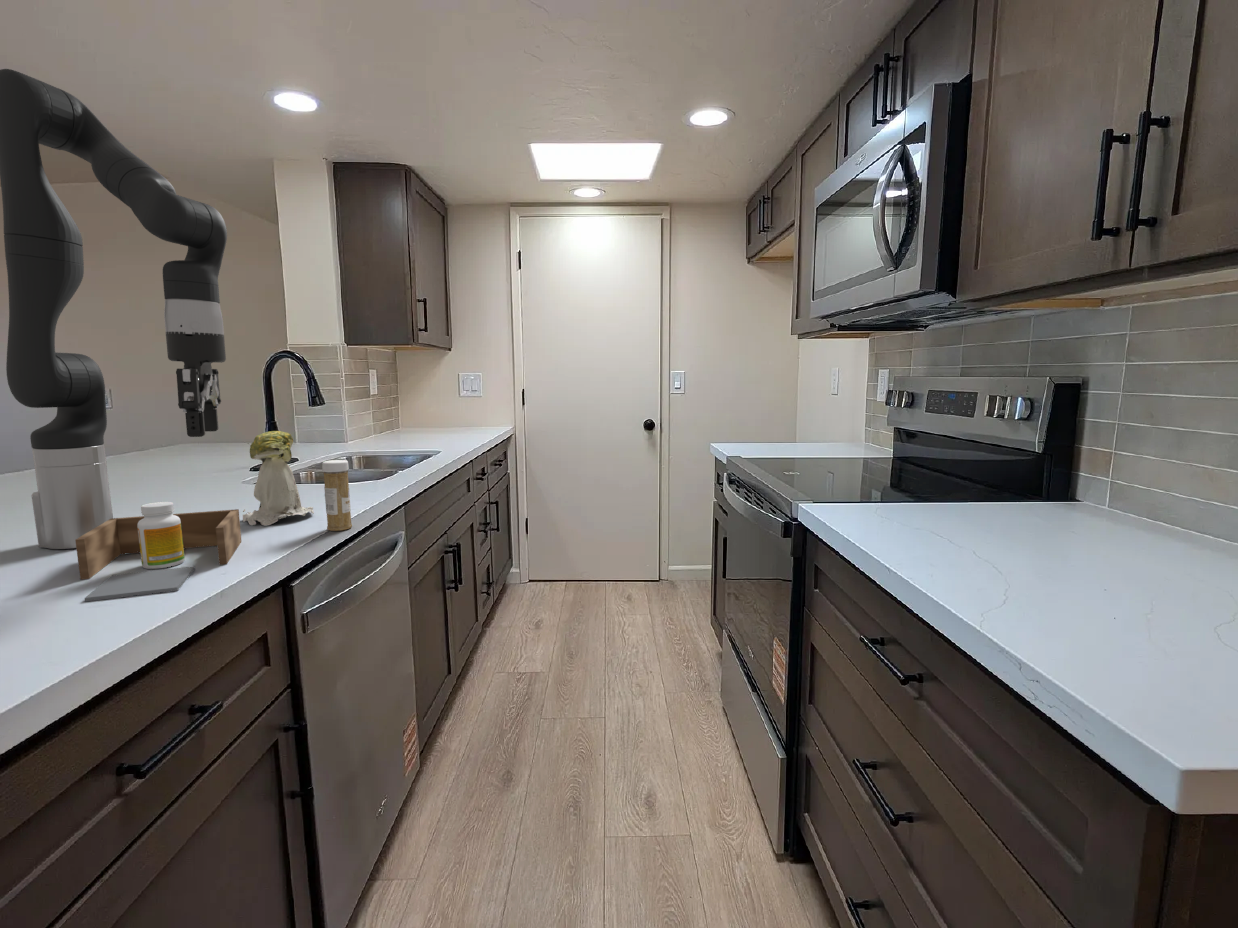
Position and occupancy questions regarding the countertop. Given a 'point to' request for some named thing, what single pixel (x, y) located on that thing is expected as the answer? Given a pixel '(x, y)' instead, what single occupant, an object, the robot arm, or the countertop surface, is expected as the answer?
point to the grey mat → (141, 583)
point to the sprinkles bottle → (337, 495)
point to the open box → (123, 538)
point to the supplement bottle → (160, 536)
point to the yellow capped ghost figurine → (274, 479)
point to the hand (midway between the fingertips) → (203, 433)
